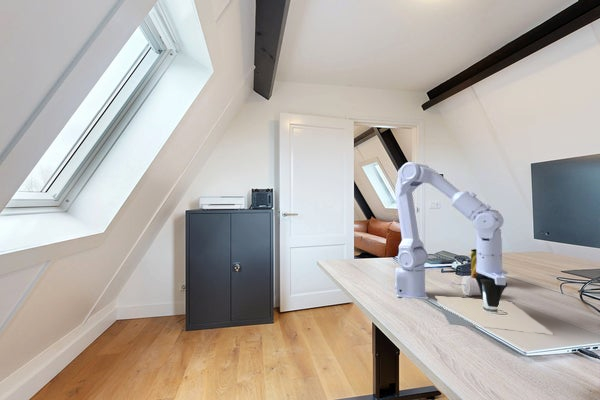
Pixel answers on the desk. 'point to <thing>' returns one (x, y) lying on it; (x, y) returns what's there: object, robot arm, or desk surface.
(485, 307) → the marker
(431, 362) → the desk surface
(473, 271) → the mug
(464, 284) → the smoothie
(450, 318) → the desk mat
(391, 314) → the desk surface
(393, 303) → the desk surface
